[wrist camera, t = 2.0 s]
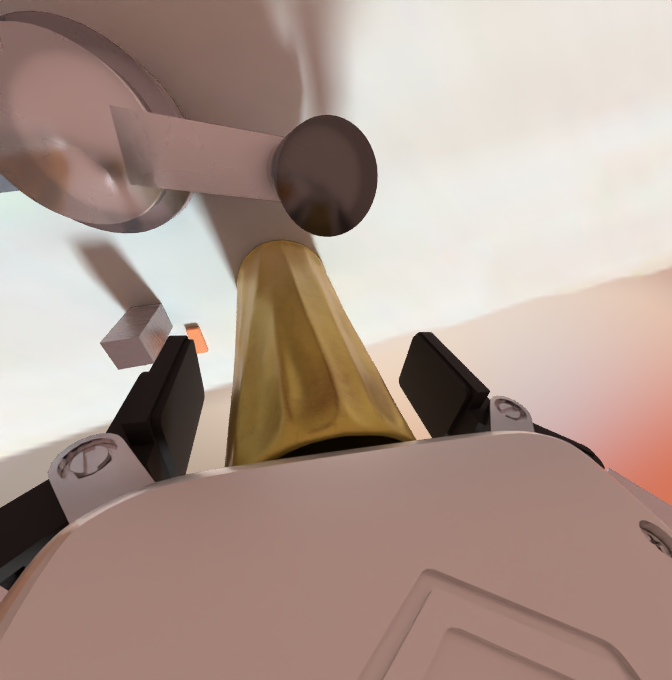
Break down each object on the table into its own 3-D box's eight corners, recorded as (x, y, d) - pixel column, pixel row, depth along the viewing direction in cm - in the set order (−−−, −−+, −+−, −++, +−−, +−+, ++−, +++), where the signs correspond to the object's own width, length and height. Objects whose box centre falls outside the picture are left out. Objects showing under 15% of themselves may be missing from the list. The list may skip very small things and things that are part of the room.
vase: (227, 241, 16) (152, 453, 4) (326, 236, 17) (470, 389, 6) (246, 327, 19) (232, 571, 8) (327, 318, 20) (417, 515, 9)
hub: (76, 231, 14) (52, 240, 12) (-42, 31, 10) (-102, 4, 8) (215, 219, 15) (211, 225, 13) (164, 37, 11) (148, 16, 9)
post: (143, 331, 17) (118, 369, 14) (130, 307, 16) (99, 343, 13) (172, 327, 18) (154, 363, 14) (161, 303, 17) (138, 336, 13)
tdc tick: (196, 351, 19) (196, 353, 19) (186, 328, 18) (185, 330, 18) (208, 349, 19) (207, 351, 19) (199, 326, 18) (198, 329, 18)
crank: (35, 212, 11) (-283, 283, 5) (-54, 15, 8) (-1351, -601, 2) (316, 235, 14) (366, 295, 8) (327, 102, 12) (421, 24, 5)
